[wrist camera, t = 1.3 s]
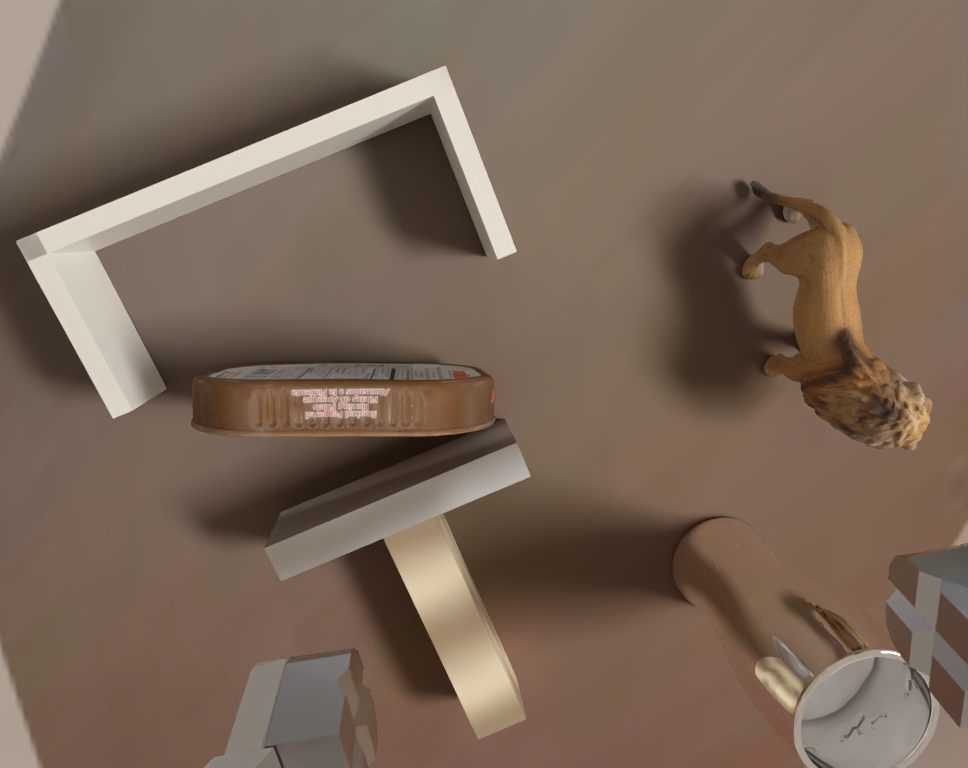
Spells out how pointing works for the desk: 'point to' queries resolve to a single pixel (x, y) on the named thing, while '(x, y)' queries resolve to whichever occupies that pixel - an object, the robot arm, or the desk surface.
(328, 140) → the box
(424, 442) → the desk surface
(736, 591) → the beer glass
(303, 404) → the tin
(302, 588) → the desk surface
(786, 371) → the lion figurine
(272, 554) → the scraper
